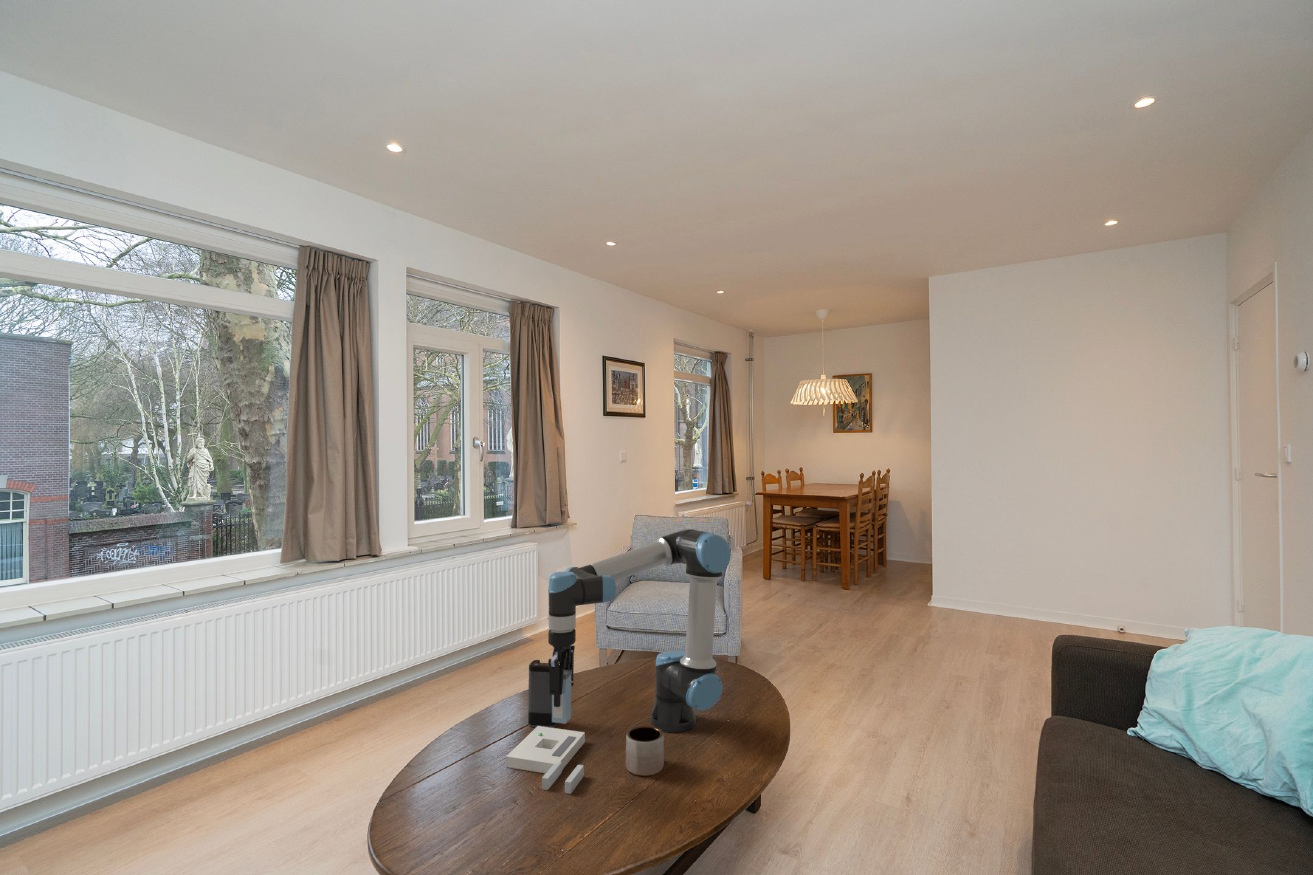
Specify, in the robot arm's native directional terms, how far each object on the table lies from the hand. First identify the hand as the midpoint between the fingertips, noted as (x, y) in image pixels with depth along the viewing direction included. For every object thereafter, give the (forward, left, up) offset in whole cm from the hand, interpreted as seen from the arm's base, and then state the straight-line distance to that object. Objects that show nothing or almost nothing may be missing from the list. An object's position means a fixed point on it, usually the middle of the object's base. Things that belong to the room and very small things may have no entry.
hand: (561, 713), depth 168 cm
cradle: (-2, +3, -17) cm, 18 cm away
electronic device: (+19, -28, -18) cm, 39 cm away
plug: (0, 0, -2) cm, 2 cm away
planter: (-21, -11, -18) cm, 30 cm away
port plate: (+9, -10, -17) cm, 22 cm away
